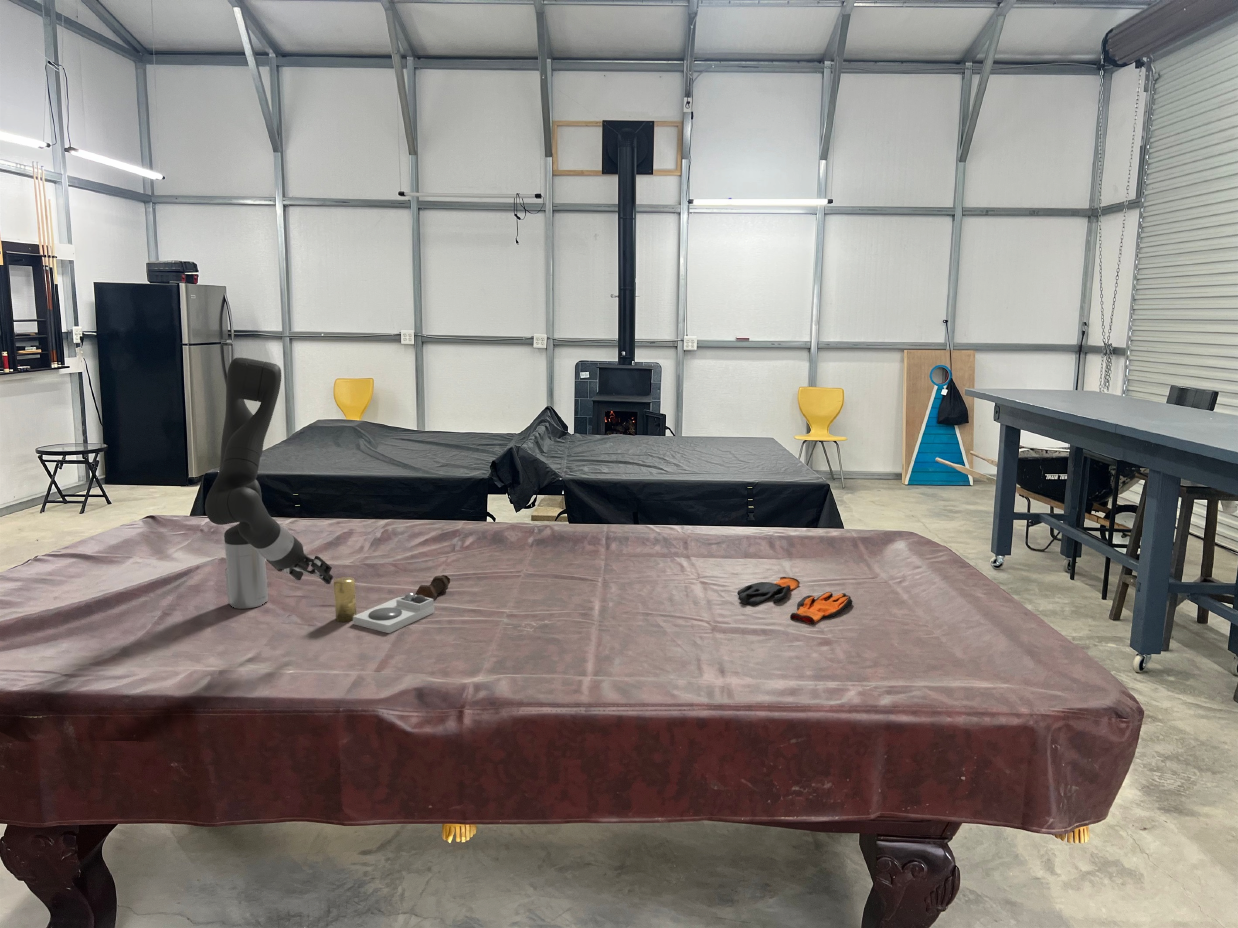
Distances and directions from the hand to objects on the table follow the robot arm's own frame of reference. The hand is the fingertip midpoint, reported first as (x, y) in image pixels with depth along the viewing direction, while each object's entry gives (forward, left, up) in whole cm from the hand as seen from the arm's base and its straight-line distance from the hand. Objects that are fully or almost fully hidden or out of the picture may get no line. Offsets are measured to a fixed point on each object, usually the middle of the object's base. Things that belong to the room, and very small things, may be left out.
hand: (315, 578), depth 198 cm
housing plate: (+9, +16, -14) cm, 23 cm away
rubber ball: (+12, +22, -10) cm, 27 cm away
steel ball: (+9, +22, -10) cm, 26 cm away
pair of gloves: (+93, +78, -14) cm, 122 cm away
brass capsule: (-2, +10, -14) cm, 17 cm away
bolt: (+6, +34, -14) cm, 38 cm away
